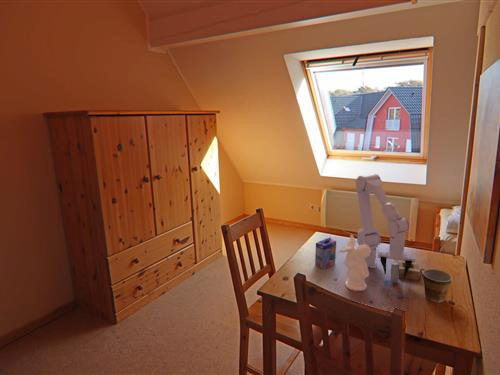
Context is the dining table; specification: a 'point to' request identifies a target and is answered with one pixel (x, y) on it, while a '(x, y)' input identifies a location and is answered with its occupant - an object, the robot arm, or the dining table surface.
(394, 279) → the dowel
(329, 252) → the ink cartridge box
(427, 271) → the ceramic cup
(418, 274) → the socket block
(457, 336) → the dining table surface
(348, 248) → the cherub figurine
